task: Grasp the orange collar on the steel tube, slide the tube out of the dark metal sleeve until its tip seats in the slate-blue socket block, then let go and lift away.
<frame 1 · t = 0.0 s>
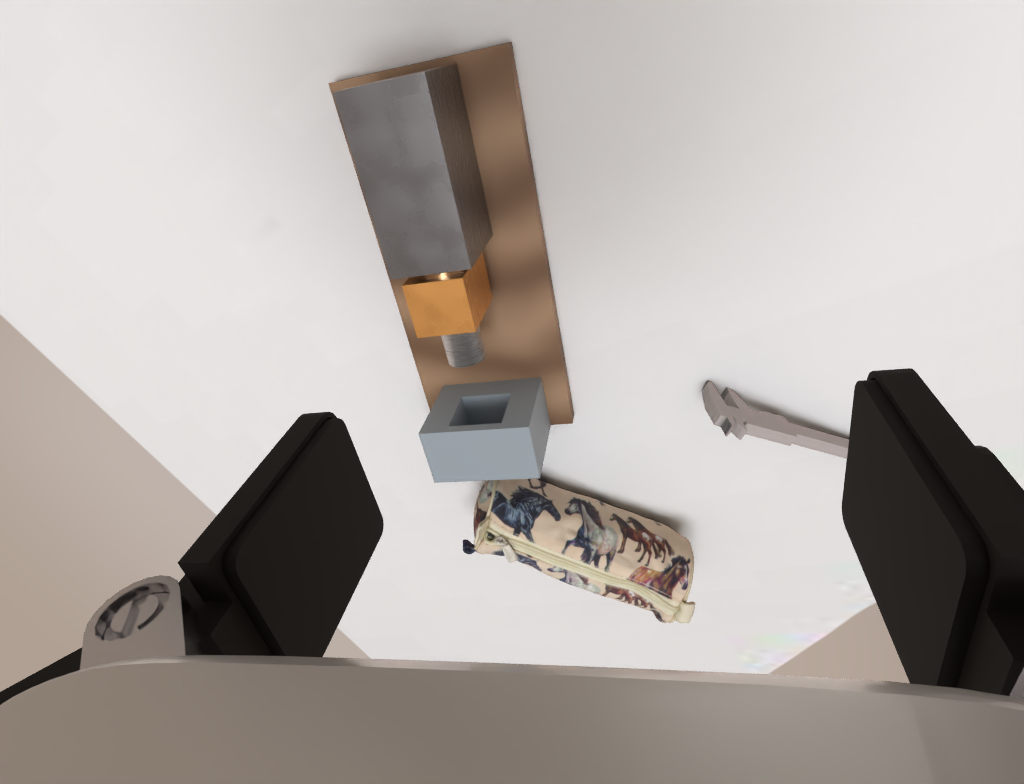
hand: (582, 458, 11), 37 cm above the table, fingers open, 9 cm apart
caliper: (814, 424, 52), on the table
socket: (500, 396, 55), resting on board
sleeve: (443, 157, 45), resting on board
board: (469, 267, 49), on the table
pencil case: (585, 509, 61), on the table
tube: (437, 243, 42), point 6 cm above the table, slide at 0.0 cm
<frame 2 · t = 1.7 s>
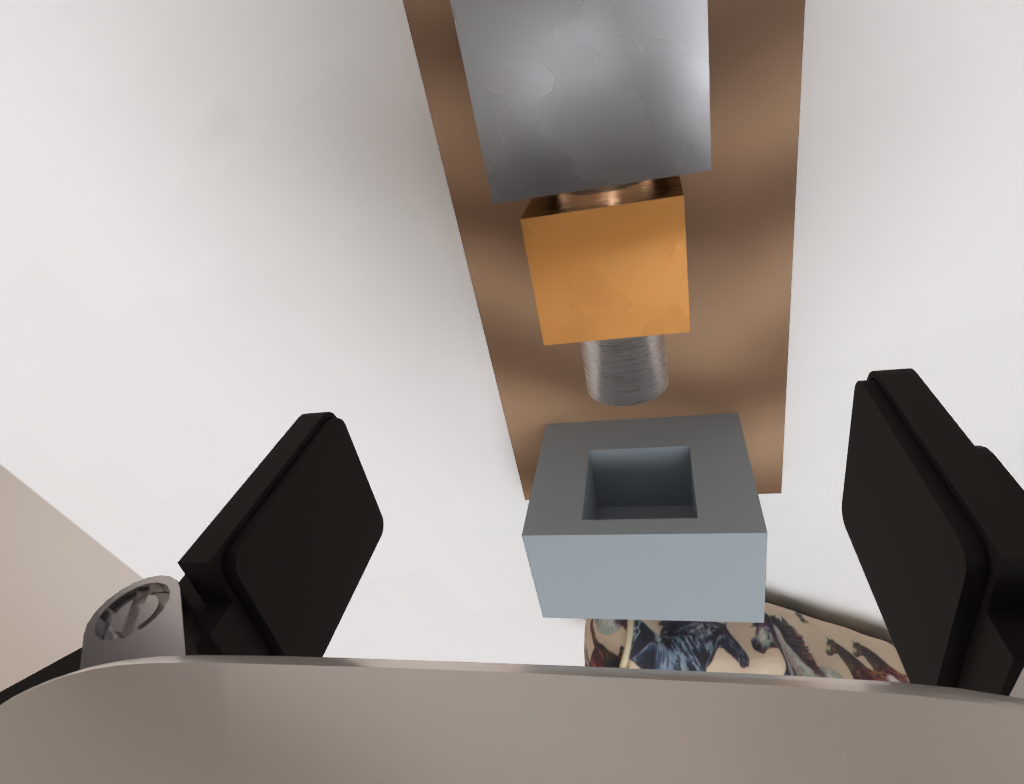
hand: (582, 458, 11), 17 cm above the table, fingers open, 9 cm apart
socket: (642, 440, 31), resting on board
board: (617, 200, 25), on the table
pencil case: (758, 617, 37), on the table
tube: (597, 121, 18), point 6 cm above the table, slide at 0.0 cm
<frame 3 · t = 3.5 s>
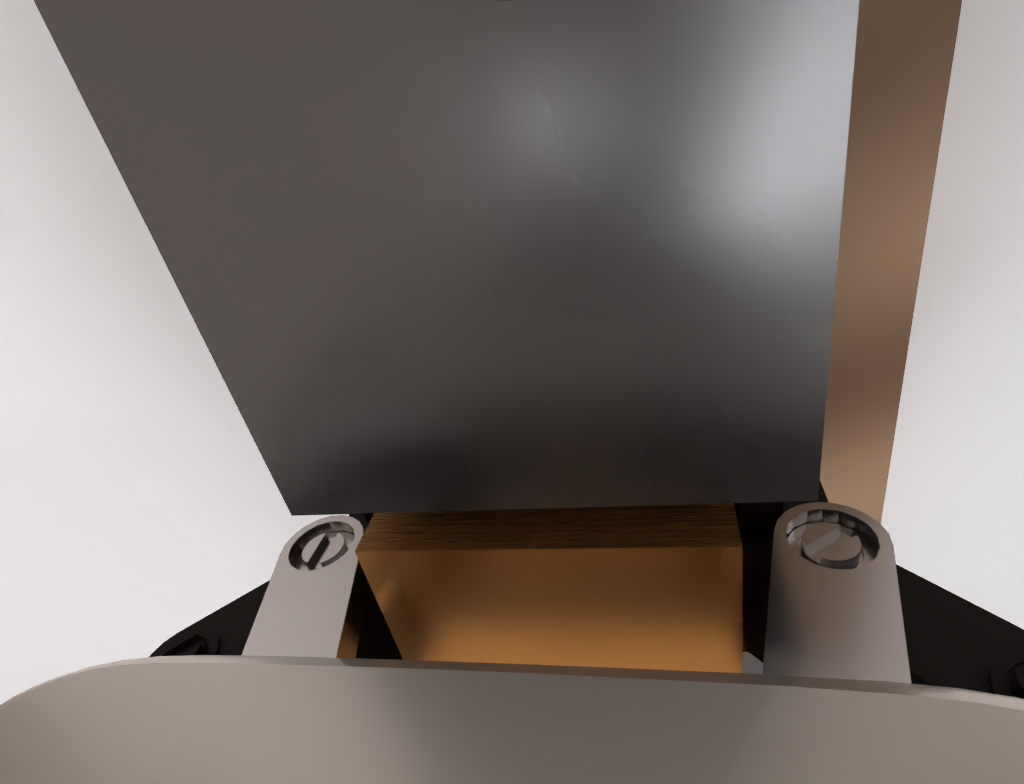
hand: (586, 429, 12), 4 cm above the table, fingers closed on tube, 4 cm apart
socket: (639, 657, 21), resting on board
board: (597, 351, 15), on the table
tube: (542, 300, 8), point 6 cm above the table, slide at 0.0 cm, touching gripper
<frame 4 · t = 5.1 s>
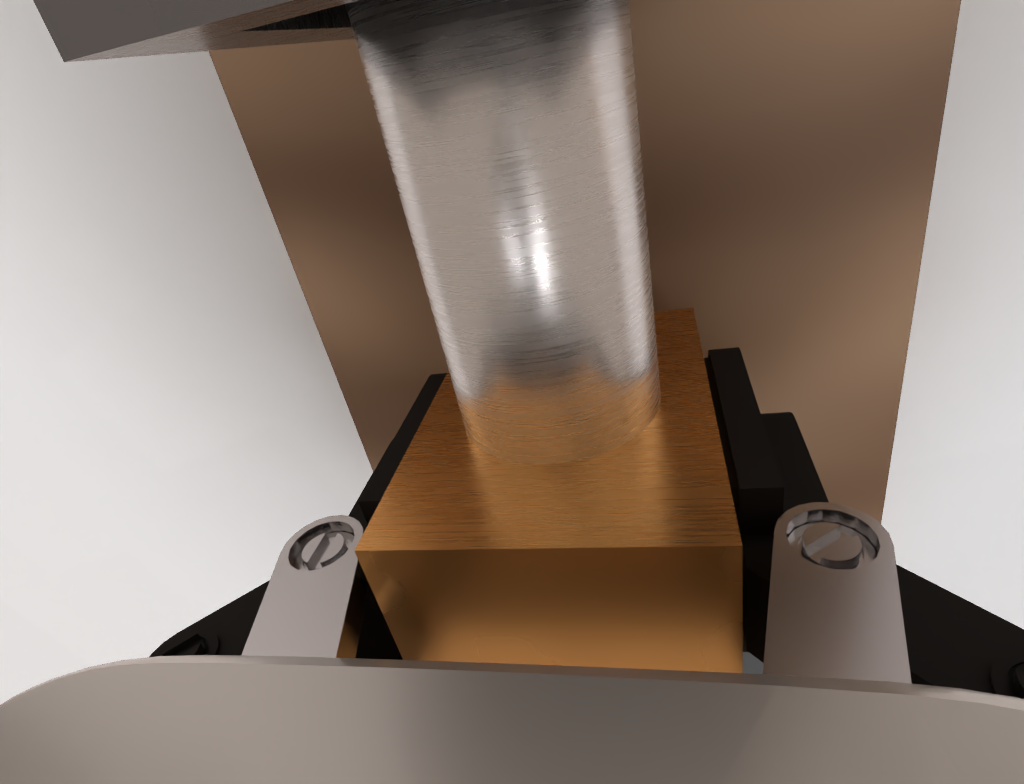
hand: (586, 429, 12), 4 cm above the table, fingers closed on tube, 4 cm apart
socket: (626, 562, 19), resting on board
board: (570, 153, 13), on the table
tube: (541, 300, 8), point 6 cm above the table, slide at 4.9 cm, touching gripper
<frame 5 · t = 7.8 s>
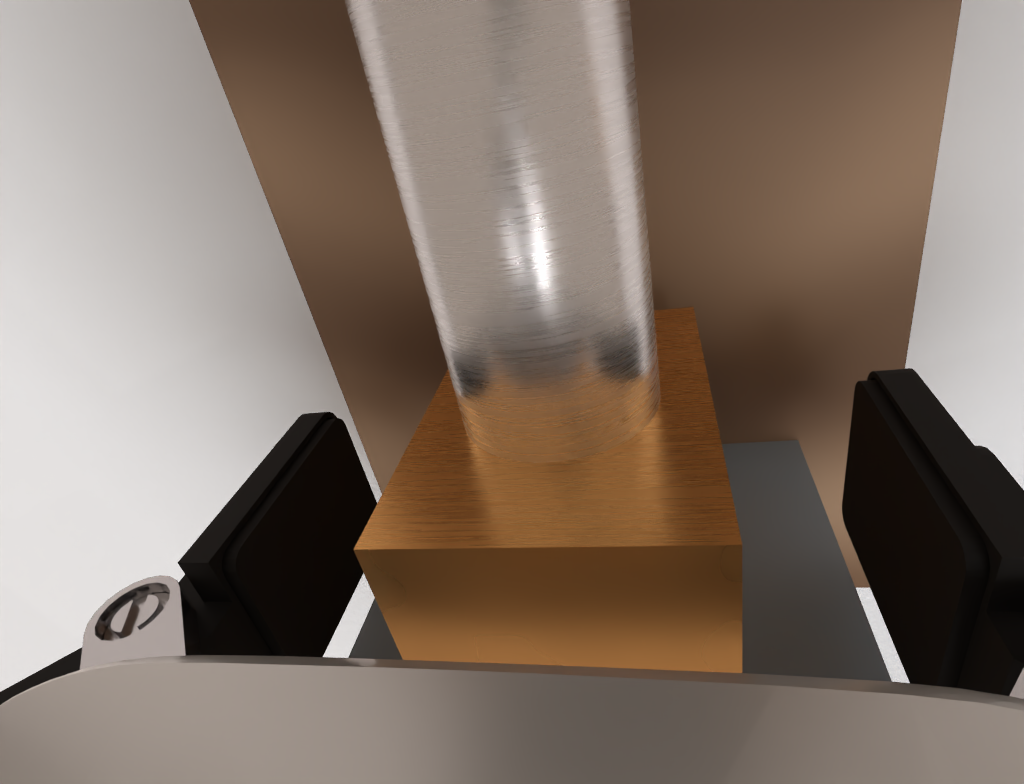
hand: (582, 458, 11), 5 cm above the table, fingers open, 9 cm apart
socket: (616, 487, 18), resting on board
tube: (541, 299, 8), point 6 cm above the table, slide at 8.0 cm
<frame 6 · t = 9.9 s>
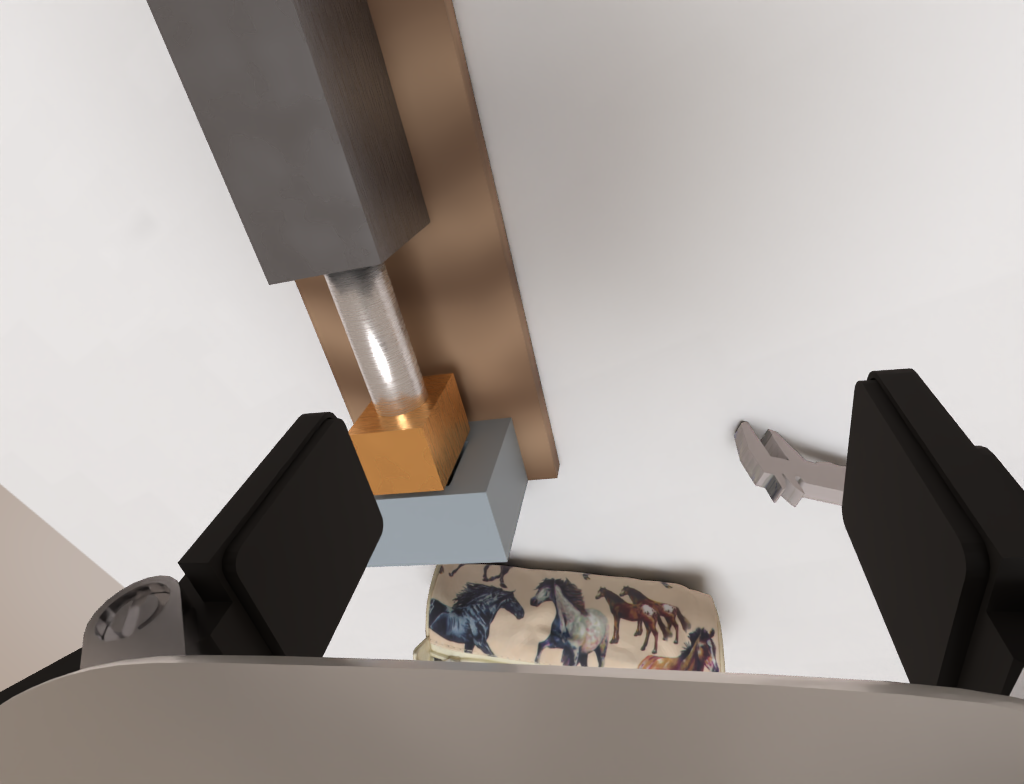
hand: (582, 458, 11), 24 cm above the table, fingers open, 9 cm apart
caliper: (893, 475, 37), on the table
socket: (461, 442, 42), resting on board
sleeve: (357, 116, 32), resting on board
board: (406, 271, 36), on the table
pencil case: (579, 585, 47), on the table
tube: (392, 375, 33), point 6 cm above the table, slide at 8.0 cm
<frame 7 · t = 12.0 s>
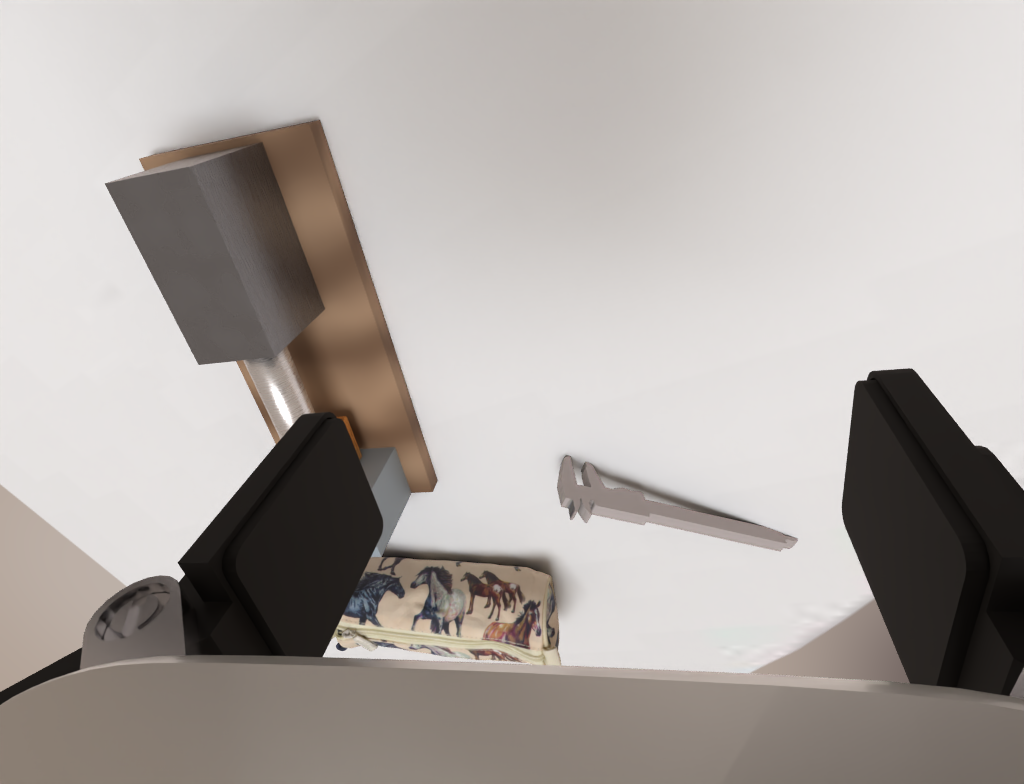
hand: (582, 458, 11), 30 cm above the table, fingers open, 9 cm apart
caliper: (678, 497, 50), on the table
socket: (362, 461, 54), resting on board
sleeve: (270, 230, 43), resting on board
board: (313, 337, 47), on the table
pencil case: (461, 571, 60), on the table
tube: (296, 421, 44), point 6 cm above the table, slide at 8.0 cm
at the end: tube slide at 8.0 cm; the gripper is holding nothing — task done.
